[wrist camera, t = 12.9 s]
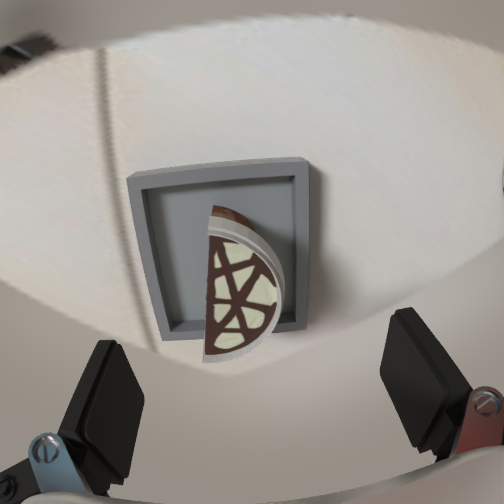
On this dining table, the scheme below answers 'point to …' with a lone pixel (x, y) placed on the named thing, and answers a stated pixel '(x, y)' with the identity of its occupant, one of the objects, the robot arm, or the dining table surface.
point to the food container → (239, 288)
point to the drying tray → (197, 241)
